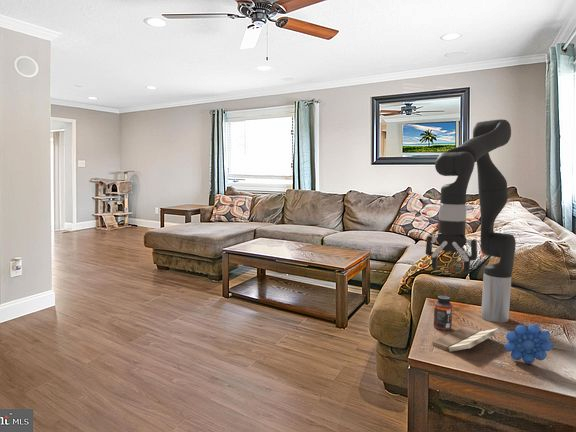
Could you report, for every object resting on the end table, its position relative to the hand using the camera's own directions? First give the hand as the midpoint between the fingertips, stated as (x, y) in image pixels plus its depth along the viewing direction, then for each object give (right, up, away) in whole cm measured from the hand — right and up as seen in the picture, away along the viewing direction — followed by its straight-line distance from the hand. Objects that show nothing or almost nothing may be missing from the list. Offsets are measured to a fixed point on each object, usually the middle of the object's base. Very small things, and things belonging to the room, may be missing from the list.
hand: (449, 270), depth 111 cm
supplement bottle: (+6, -24, +19) cm, 31 cm away
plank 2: (+14, -23, +7) cm, 28 cm away
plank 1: (+6, -23, +1) cm, 24 cm away
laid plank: (+6, -24, +9) cm, 27 cm away
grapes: (+20, -26, -6) cm, 33 cm away
